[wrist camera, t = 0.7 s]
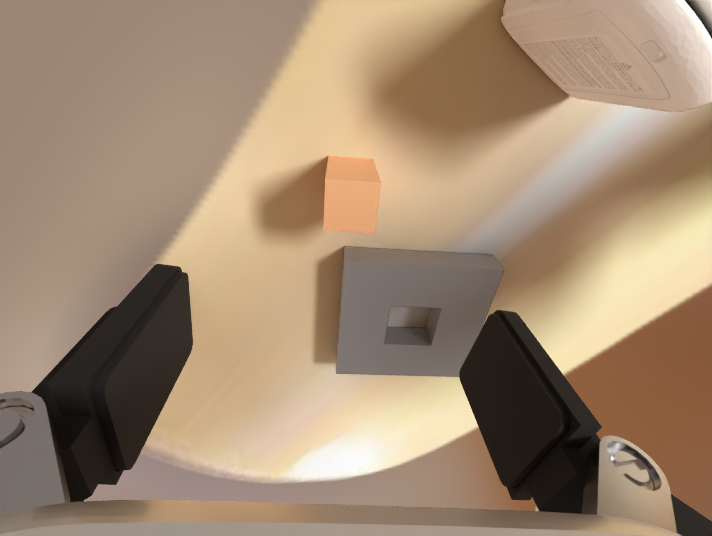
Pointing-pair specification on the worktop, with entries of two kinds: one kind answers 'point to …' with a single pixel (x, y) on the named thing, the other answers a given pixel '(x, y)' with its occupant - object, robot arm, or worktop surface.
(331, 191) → the orange rectangular block
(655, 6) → the photo printer
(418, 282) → the grey square hole board
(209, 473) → the worktop surface
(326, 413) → the worktop surface
